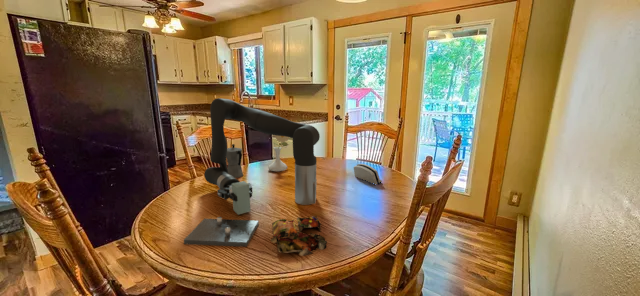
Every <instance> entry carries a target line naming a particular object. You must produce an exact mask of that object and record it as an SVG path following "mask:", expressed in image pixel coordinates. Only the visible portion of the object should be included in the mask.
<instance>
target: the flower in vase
mask: <svg viewBox="0 0 640 296" xmlns="http://www.w3.org/2000/svg"><path fill="white" fill-rule="evenodd" d="M274 137H275V139H276V141H278V142H280V144H278V143H275V142H273V144H274V145H276V146H274V147H273V150H274V152H275V160H274V161H273V162H271V163H270V164H269V166H268V170H269V171H271V172H283V171H286V170H287V169H288V166H287V164H286V163H284V162H283V161H282V160H281V158H280V154H281V150H282V147H281V146H283V147H287V146H289V144H288V143H287V141H289V138H290V137H286V136H277V135H274Z"/></svg>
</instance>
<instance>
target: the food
mask: <svg viewBox="0 0 640 296" xmlns="http://www.w3.org/2000/svg"><path fill="white" fill-rule="evenodd" d="M296 219H297V220H296V221H297V226H296V223H295V220H294V219H293V220H287V219H286V218H280V219H278V220H275V221H274V222H272V234H273V235H272V236H273V237H272V238H271V239H270V242H271V243H273V244H277V245H276V246H277V251H278V253H282V254H284V253H288V254H289V253H298V255H299V256H309V255H312V254H313V252H314V251H317V249H319V250H322V251H323V250H325V249H326V248H327V243H328V241H327V240H326V238H325V236H322V235H321V234H319V235H318V233H312V232H310V233H304V232H302V230H303V229H312V228H317V229H318V231H319V233H321V232H322V230H321V227H322V226H321V225H322V223H321V222H320V221H319V218H318V216H317V215H312V216H310V217H300V216H299V217H296ZM296 227H298V228H296ZM297 229H298V230H299V232H298V230H297Z"/></svg>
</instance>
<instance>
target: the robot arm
mask: <svg viewBox="0 0 640 296" xmlns="http://www.w3.org/2000/svg"><path fill="white" fill-rule="evenodd" d="M209 110H210V111H209V112H210V127H211V148H210V158H209V159H210V161H211V163H213V164H219V165H220V166H211V167H207V168H206V169H205V171H204V174H203V175H204V180H206V182H208V183H209V184H211V185H215V186H217V187H218V189H217V197H218V198H221V199H222V200H225V201H226V200H228V199H230V200H232V202H233V201H235V202H236V201H238V200H237V196H236V195H235V194H234V193H233V192H232V183H237V182H240V181H239V179H237V178H234V177H233V176H231V175H229V174H228V169H227V168H228V162H227V157H226V156H227V148H228V141H227V137H226V135H225V130H224V125H225V124H224V123H225V120H228V119H229V120H234V121H239V122H242V123H244V124H246V126H248V127H249V128H250V129H253V130H254V131H257V132H259V133H263V134H266V135H270V136H272V135H273V136H275V135H277V136H286V137H289V138H291V139H292V154H293V159H294V201H295V203H296V204H298V205H302V206H304V205H306V206H307V205H314V204H315V205H316V202H317V182H318V181H317V180H318V179H317V157H316V155H315V154H314V153H315V149H314V147H315V145H316V144H317V143H318V142H319V141H320V138H321V137H320V132H319V130H318V129H317V128H316V127H314V126H313V125H310V124H306V123H299V122H297V121H296V122H295V121H292V120H289V119H286V118H284V117H281V116H279V115H276V114H273V113H271V112H267V111H265V110H261V109H257V108H254V107H248V106H245V105H243V104H241V103H239V102H237V101H234V100H232V99H228V98H215V99H214V100H213V99H212V102H211V103H210V107H209ZM247 183H248V182H247ZM248 184H249V190H250V199H252V197H253V186H252V184H251V183H250V182H249V183H248Z"/></svg>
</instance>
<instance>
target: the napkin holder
mask: <svg viewBox="0 0 640 296" xmlns="http://www.w3.org/2000/svg"><path fill="white" fill-rule="evenodd" d="M353 173H354V177H355V178H357V177H358V179H360V178H361V179H360V180H362V179H363V181H365V180H366V181H365V182H367V181H368V182H367V183H369V182H371V183H370V184H372V183H374V184H381V183H380V182H382V183H383V181H382V179H380V175H379V173H378V170H377V169H375V168H374V167H373V166H371V165H368V164H365V163H358V164H356V165H354V166H353ZM374 184H373V185H374Z"/></svg>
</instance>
